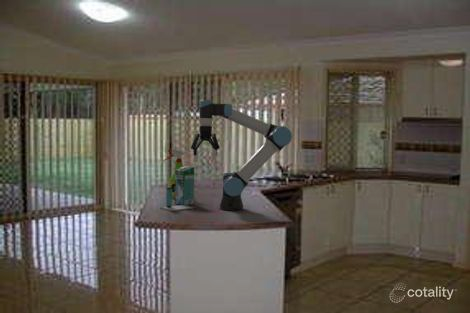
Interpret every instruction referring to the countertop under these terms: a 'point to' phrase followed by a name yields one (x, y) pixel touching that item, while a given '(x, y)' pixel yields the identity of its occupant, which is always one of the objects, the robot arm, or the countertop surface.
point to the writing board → (177, 208)
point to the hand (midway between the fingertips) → (205, 160)
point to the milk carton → (184, 185)
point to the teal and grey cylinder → (168, 197)
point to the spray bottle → (177, 166)
